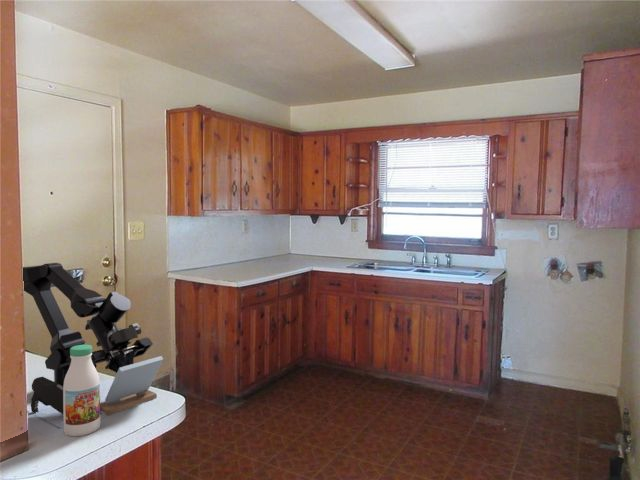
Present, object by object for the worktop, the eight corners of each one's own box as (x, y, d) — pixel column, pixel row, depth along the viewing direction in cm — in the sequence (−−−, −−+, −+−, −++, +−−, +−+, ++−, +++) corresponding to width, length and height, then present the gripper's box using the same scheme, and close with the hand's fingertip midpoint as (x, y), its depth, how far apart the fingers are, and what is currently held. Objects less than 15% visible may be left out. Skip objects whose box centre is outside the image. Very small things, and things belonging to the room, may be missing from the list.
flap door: (104, 401, 117) (119, 367, 112) (145, 387, 127) (161, 355, 122) (106, 406, 117) (122, 372, 112) (148, 392, 126) (164, 360, 121)
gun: (69, 441, 112) (84, 408, 111) (19, 406, 115) (34, 373, 113) (77, 435, 115) (92, 403, 114) (28, 401, 118) (43, 370, 116)
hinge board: (96, 409, 118) (95, 404, 118) (144, 392, 129) (144, 388, 129) (108, 415, 114) (108, 410, 114) (156, 397, 126) (156, 393, 126)
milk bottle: (56, 433, 105) (54, 349, 103) (83, 419, 112) (82, 340, 111) (81, 440, 102) (79, 353, 101) (107, 425, 109) (106, 344, 108)
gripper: (88, 322, 114) (116, 373, 109) (148, 309, 130) (175, 353, 125) (69, 347, 118) (95, 398, 113) (130, 332, 134) (155, 375, 129)
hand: (133, 380), depth 120 cm, fingers closed, pressing on flap door
